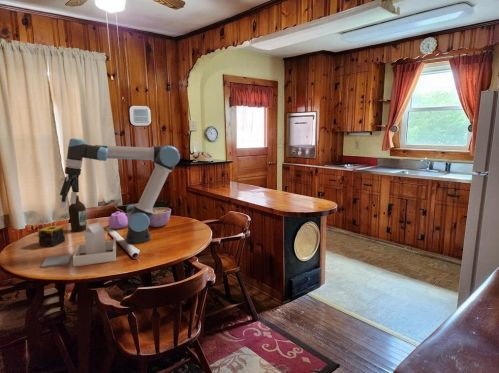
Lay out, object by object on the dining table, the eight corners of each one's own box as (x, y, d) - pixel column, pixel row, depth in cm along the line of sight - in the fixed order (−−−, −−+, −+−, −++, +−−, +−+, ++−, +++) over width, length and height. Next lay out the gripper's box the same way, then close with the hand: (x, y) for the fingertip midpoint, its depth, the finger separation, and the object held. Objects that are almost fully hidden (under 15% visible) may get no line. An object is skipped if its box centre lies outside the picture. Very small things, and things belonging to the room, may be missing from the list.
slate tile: (71, 256, 177) (71, 254, 177) (68, 264, 166) (68, 262, 166) (46, 259, 173) (46, 257, 173) (41, 267, 162) (41, 266, 162)
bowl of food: (142, 223, 242) (141, 208, 240) (168, 220, 250) (168, 206, 248) (145, 230, 224) (144, 214, 222) (174, 227, 232) (173, 211, 231)
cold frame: (116, 248, 189) (115, 237, 188) (115, 260, 171) (114, 248, 170) (78, 253, 182) (77, 241, 181) (73, 266, 164) (72, 253, 163)
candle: (52, 247, 192) (51, 231, 190) (38, 246, 194) (36, 230, 192) (65, 241, 202) (64, 226, 200) (52, 240, 204) (50, 225, 202)
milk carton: (106, 255, 178) (103, 222, 175) (95, 260, 172) (92, 226, 169) (97, 253, 181) (94, 221, 178) (86, 258, 175) (83, 224, 172)
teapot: (110, 224, 239) (109, 209, 238) (129, 223, 243) (128, 208, 241) (107, 232, 221) (105, 216, 219) (127, 230, 224) (126, 214, 223)
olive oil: (66, 232, 221) (63, 196, 217) (77, 227, 231) (74, 194, 227) (80, 233, 219) (77, 197, 215) (90, 228, 230) (87, 194, 226)
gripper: (74, 164, 184) (69, 200, 186) (56, 167, 160) (50, 208, 162) (88, 167, 186) (82, 202, 188) (72, 169, 162) (66, 210, 163)
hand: (68, 205), depth 175 cm, fingers open, 13 cm apart
